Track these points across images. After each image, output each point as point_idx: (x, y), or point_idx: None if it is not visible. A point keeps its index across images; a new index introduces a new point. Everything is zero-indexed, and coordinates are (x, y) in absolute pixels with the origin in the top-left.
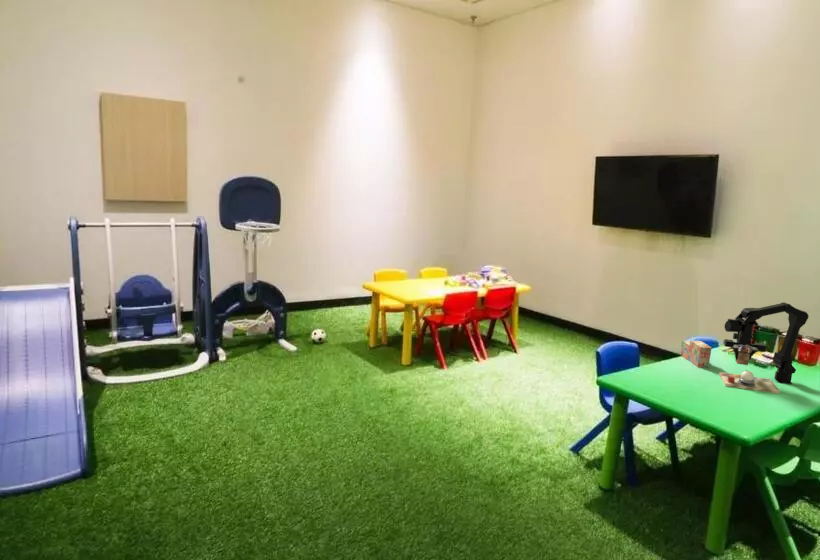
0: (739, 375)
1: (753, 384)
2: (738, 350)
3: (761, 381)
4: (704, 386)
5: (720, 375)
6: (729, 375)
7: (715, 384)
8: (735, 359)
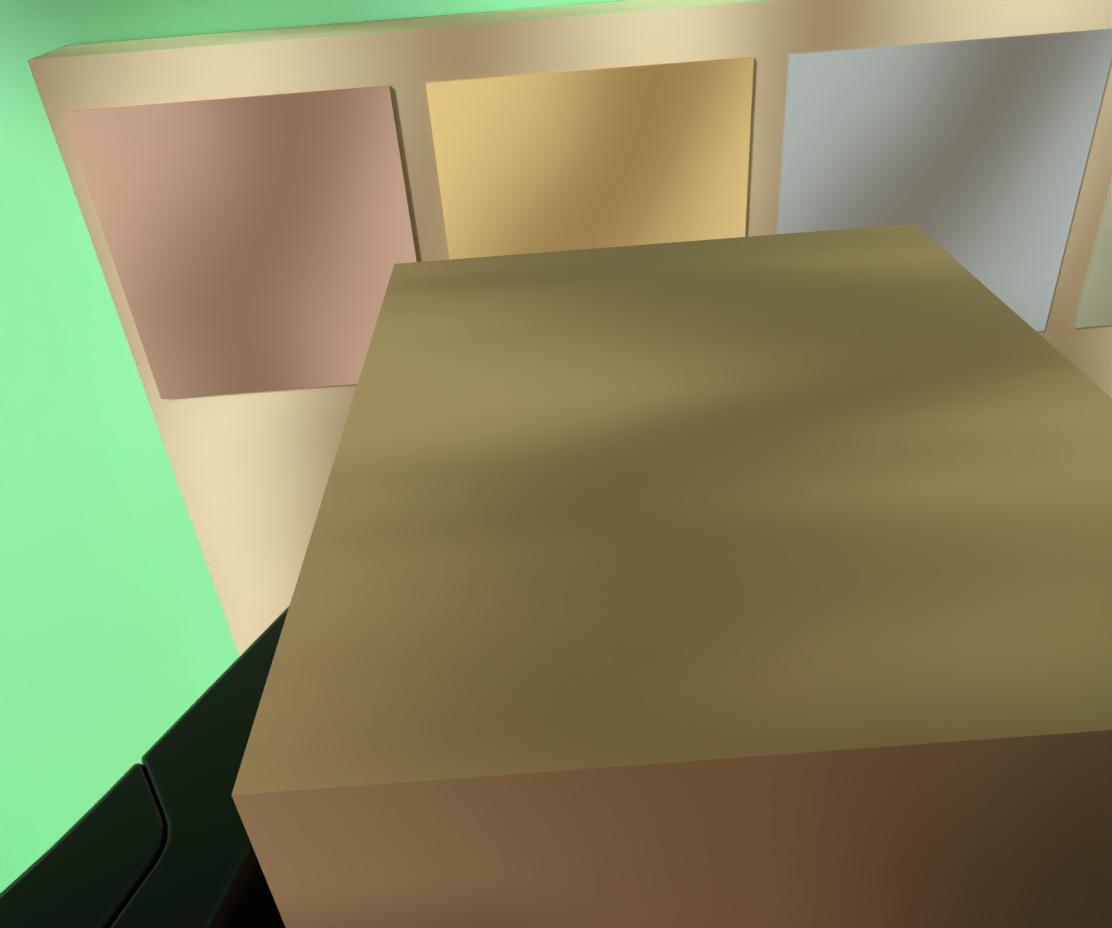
0: (618, 123)
1: None
2: (416, 778)
3: (1083, 343)
4: (7, 874)
5: (127, 304)
6: (341, 281)
7: (137, 737)
8: (384, 300)
